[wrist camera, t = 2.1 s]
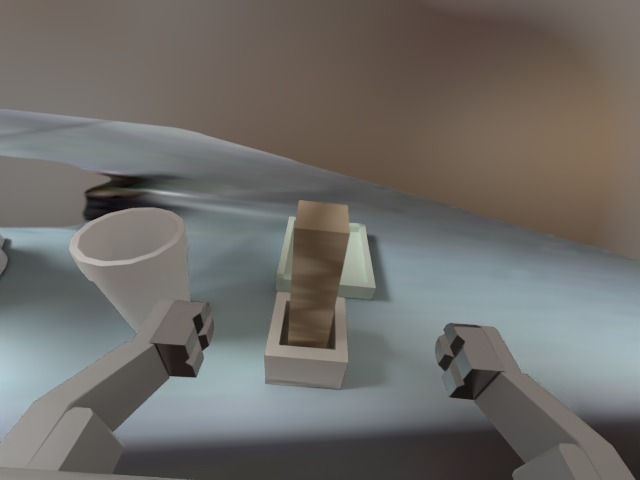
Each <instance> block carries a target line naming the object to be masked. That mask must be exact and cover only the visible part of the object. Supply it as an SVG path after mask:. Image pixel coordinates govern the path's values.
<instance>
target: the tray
mask: <svg viewBox="0 0 640 480" xmlns="http://www.w3.org/2000/svg"><path fill="white" fill-rule="evenodd" d="M295 221H296V217H289V221H288V226H287V230H286V234H285V239H284V243H283V248H282V252H281V257H280V261H279V266H278V270H277V274H276V290H275V291H282V292H291V276H292V258H293V240H294V226H295ZM349 227H350V236H349V241H348V246H347V251H346V256H345V261H344V265H343V270H342V275H341V280H340V285H339V290H338V295H337V297H346V298H356V299H367V300H372V298H373V295H374V292H375V289H376V286H375V280H374V275H373V269H372V263H371V257H370V252H369V246H368V240H367V234H366V229H365V224H356V223H349Z"/></svg>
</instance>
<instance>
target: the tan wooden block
mask: <svg viewBox="0 0 640 480" xmlns="http://www.w3.org/2000/svg"><path fill="white" fill-rule="evenodd" d="M349 236H350V227H349V217H348V206H347V205H339V204H329V203H320V202H310V201H301V200H299V205H298V210H297V215H296V221H295V226H294V240H293V258H292V276H291V294H290V312H289V331H288V346H298V347H309V348H321V349H326V348H327V343H328V338H329V333H330V329H331V324H332V319H333V314H334V309H335V304H336V299H337V295H338V290H339V285H340V280H341V275H342V270H343V265H344V261H345V256H346V251H347V246H348V241H349Z"/></svg>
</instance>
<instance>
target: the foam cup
mask: <svg viewBox="0 0 640 480" xmlns="http://www.w3.org/2000/svg"><path fill="white" fill-rule="evenodd" d="M188 249H189V246H188V241H187V236H186V232H185V227H184V223H183V219H182V218H180V217H179V216H178V215H176V214H175V213H173V212H172V211H168V210H163V209H159V208H131V209H126V210H122V211H118V212H113V213H109V214H107V215H104V216H102V217H100V218H98V219H95V220H93V221H91V222H89V223H87V224H86V225H85V226H83V227H82V228H81V229H80V230H79V231H77V232H76V233H75V234H74V235H73V236H72V239H71V243H70V246H69V249H68V250H69V251H70V253H71V255H72V257H73V258H74V260H75V262H76V264H77V265H78V267H79V269H80V270H81V271H82V272H83V274H84V275H85V276H86V277H87V278H88V280H89V281H93V282H94V283H95V284H96V285H97V286H98V288H99V289H100V290H101V291H102V292H103V294H104V295H105V296H106V297H107V298H108V300H109V301H110V302H111V303H112V304H113V305H114V307H115V308H116V309H117V310H118V311H119V313H120V314H121V315H122V316H123V317H124V319H125V320H126V321H127V322H128V323H129V325H130V326H131V327H132V328H133V329H134V331H135V332H136V333H137V332H138V330H139V329H140V327H141V326H142V324H143V323H144V321H145V320H146V318H147V317H148V315H149V314H150V312H151V311H152V309H153V308H154V306H155V304H156V303H157V302H158V301H159V300H160V299H162V298H164V299H175V300H184V301H190V290H189V274H188V258H187V251H188Z"/></svg>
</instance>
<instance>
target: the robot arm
mask: <svg viewBox="0 0 640 480" xmlns="http://www.w3.org/2000/svg"><path fill="white" fill-rule="evenodd" d="M4 240H5V239H4V238H3V237H2V236H1V235H0V274H1V273H2V272H3V270H4V269H5V267H6V265H7V262H8V258H7V255H6V253H5V252H4V251H3V249H2V246H3V244H4ZM210 311H211V308H210V305H209V303H202V302H193V301H184V300H175V299H164V298H162V299H160V300H159V301H158V302H157V303H156V304H155V306H154V308H153V309H152V311H151V312H150V314H149V315H148V317H147V318H146V320H145V321H144V323H143V324H142V326H141V327H140V329H139V330H138V332H137V333H136V335H135V337H134V338H133V340H132V341H131V342H125V343H123V344H122V345H120V346H119V347H117V348H116V349H114V350H113V351H111V352H109V353H108V354H106V355H105V356H103V357H102V358H100V359H99V360H97V361H96V362H94V363H93V364H91V365H90V366H88V367H87V368H85V369H84V370H82V371H80V372H79V373H77V374H76V375H74V376H73V377H71V378H70V379H68V380H67V381H65V382H64V383H62V384H61V385H59V386H58V387H56V388H54V389H53V390H51V391H50V392H48V393H47V394H45V395H44V396H42V397H41V398H39V399H38V400H36V401H35V402H33V404H32V405H31V406H30V407H29V408H28V410H27V411H26V412H25V413H24V415H23V416H22V417H21V418H20V419H19V421H18V422H17V423H16V424H15V426H14V427H13V428H12V429H11V431H10V432H9V433H8V434H7V435H6V437H5V438H4V439H3V440H2V442H1V443H0V480H185V479H171V478H156V477H141V476H126V475H112V473H113V471H114V468H115V466H116V464H117V462H118V460H119V458H120V456H121V454H122V452H123V450H124V445H123V442H122V441H121V440H120V439H119V438H118V437H117V436H116V435H115V434H114V433H113V431H114V430H116V429H117V428H118V427H119V426H120V425H121V424H122V423H123V422H124V421H125V420H126V419H127V418H128V417H129V416H130V415H131V414H132V413H133V412H134V411H135V410H136V409H137V408H138V407H140V406H141V405H142V404H143V403H144V402H145V401H146V400H147V399H148V398H149V397H150V396H151V395H152V394H153V393H154V392H155V391H156V390H157V389H158V388H159V387H160V386H161V385H163V384H164V383H165V382H166V381H167V380H168V379H169V376H177V377H197V374H198V372H199V369H200V367H201V364H202V362H203V359H204V356H203V353H202V351H203V350H204V349H205V348H207V347H208V346H209V344H210V341H211V339H212V334H213V330H214V322H213V318H212V317H211V316H210V315H209V313H210ZM443 330H444V332H445V334H444V335H442V336H440V337H439V338H438V340H437V342H436V347H435V353H436V359H437V362H438V365H439V366H440V367H441V368H442V369H443V370H444V371H445V372H444V374H443V377H442V378H443V381H444V384H445V387H446V390H447V393H448V396H449V397H452V398H461V399H470V400H475V401H474V402H475V403H476V404H477V405H478V407H479V408H480V409H481V410H482V412H483V413H484V414H485V415H486V416H487V418H488V419H489V420H490V421H491V422H492V424H493V425H494V426H495V427H496V429H497V430H498V431H499V432H500V433H501V435H502V436H503V437H504V438H505V439H506V441H507V442H508V443H509V444H510V446H511V447H512V448H513V449H514V450H515V452H516V453H517V454H518V455H519V456H520V458H521V459H522V460H523V461H524V462H525V464H524V465H523V466H521V467H519V468H518V469H516V470H514V472H513V474H512V476H513V479H514V480H635V478H634V477H633V475H632V474H631V472H630V471H629V469H628V468H627V466H626V465H625V464H624V462H623V461H622V459H621V458H620V456H619V455H618V453H617V452H616V450H615V449H614V447H613V446H612V445H611V444H610V443H608V442H607V441H606V440H605V439H604V438H602V437H601V436H600V435H599V434H598V433H597V432H595V431H594V430H593V429H592V428H591V427H589V426H588V425H587V424H586V423H585V422H583V421H582V420H581V419H580V418H579V417H577V416H576V415H575V414H574V413H573V412H571V411H570V410H569V409H568V408H567V407H565V406H564V405H563V404H562V403H561V402H560V401H558V400H557V399H556V398H555V397H554V396H552V395H551V394H550V393H549V392H548V391H546V390H545V389H544V388H543V387H542V386H540V385H539V384H538V383H537V382H536V381H534V380H533V379H532V378H531V377H530V376H529V375H527V374H522V372H521V370H520V369H519V367H518V365H517V363H516V362H515V360H514V358H513V356H512V355H511V353H510V351H509V349H508V348H507V346H506V344H505V342H504V341H503V339H502V337H501V335H500V334H499V332H498V330H497V329H496V328H494V327H489V326H477V325H468V324H453V323H449V324H447V325H446V326H445V328H444V329H443Z"/></svg>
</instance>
